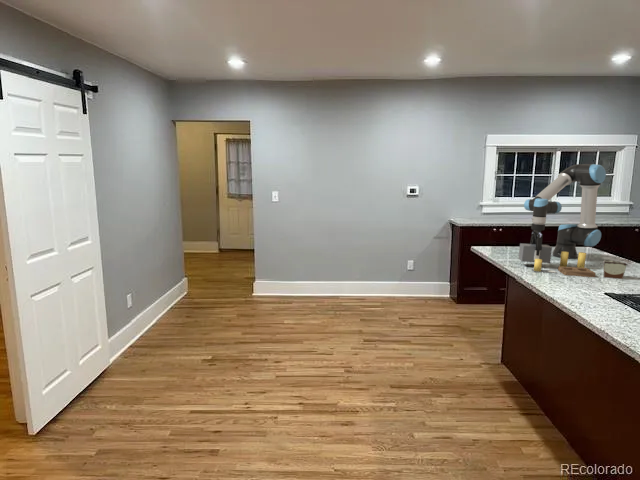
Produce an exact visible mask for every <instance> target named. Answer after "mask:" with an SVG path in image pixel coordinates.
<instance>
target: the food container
mask: <svg viewBox="0 0 640 480" xmlns="http://www.w3.org/2000/svg"><path fill="white" fill-rule="evenodd" d="M602 264H603V278H605V279H615V280H623V279H624V276H625V272H626V269H627V267H629V264H628V262H627V261H624V260H618V259H613V258H612V259H608V258H607V259H604V260H603V262H602Z"/></svg>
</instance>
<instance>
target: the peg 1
mask: <svg viewBox="0 0 640 480" xmlns="http://www.w3.org/2000/svg"><path fill="white" fill-rule="evenodd" d="M568 254H569V252H565V251H562V252H561V258H560V260H559V266H561V267H568V262H569V261H568V260H569V258H568Z"/></svg>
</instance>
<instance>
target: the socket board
mask: <svg viewBox="0 0 640 480" xmlns="http://www.w3.org/2000/svg"><path fill="white" fill-rule="evenodd" d="M557 271H558V272H560V273H561V274H563V275H564V276H566V277H567V276H572V277H584V278H585V277H586V278H587V277H588V278H595V277H596V272H595V271H593V270H591V269H589V268H588V267H584V268H577V266H575V267H574V266H567V267H561V266H560V265H559V266H558V267H557Z"/></svg>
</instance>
